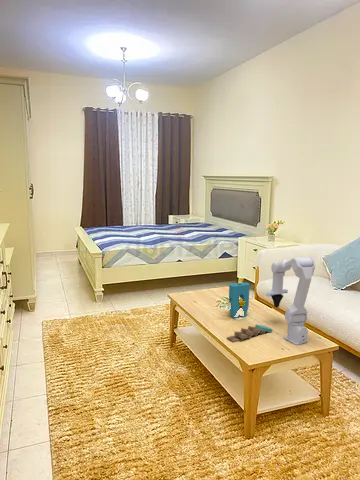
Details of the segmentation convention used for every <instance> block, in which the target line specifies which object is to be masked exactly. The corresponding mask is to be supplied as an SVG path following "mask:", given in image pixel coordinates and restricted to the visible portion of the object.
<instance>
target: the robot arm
mask: <svg viewBox="0 0 360 480" xmlns="http://www.w3.org/2000/svg"><path fill="white" fill-rule="evenodd" d="M270 268H271V269H270V270H271V272H272V285H271V287H272V288H271V290H269V291H267V292H266V293H265V295H266V297H269V298H270V297H271V299H272V303H273V306H274V308H279V307H280V304H281V302H282V300H283V298H284V294H288V292H289V290H288V289H286V288H285V289H284V277H285V273H286V272H287V271H290V270H291V269H292V270H293V273H294V274H295V277H297V278H299V279H298V283H297V287H296V290H295V295H294V299H293V302H292V303H293V304H292V305H290V306H289V307H287V310H286V311H285V313H284V320H285V321H286V323H287V335H286V336H283V339H284V340H287V341H288V342H290V343H293V344H294V345H297V346H299V345H302V344H305V343H309V341H308V328H307V327H306V326H305V323H306V322H307V320H308V310H307V308H306V307H305V305H306V304H305V303H306V301H307V297H308V293H309V289H310V287H311V286H310V285H311V282H312V279H313V278H312V277H313V275H314V272H315V268H316V263H315V260H314V258H313V257H310V256H309V257H292V258H291V259H286V258H284V259H282V260H279V261H278V262H272V263H271V266H270Z"/></svg>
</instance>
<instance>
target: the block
mask: <svg viewBox="0 0 360 480" xmlns="http://www.w3.org/2000/svg"><path fill="white" fill-rule="evenodd" d="M250 285H251V284H250V283H248V282H238V283H237V282H236V283H229V285H228V303H229V302H230V303H231V309H230V310H229V315H230V317H231V318H233V319H235V320H237V319H240V318H245V317H247V314H248V310H249V304H250V302H249V301H250ZM239 296H240V297H241V298H242V299H243V301H246V303H245V305H244V306H242V307H243V308H242V309H243V311H244V316H238V317H234V316H235V315H236V313H237V311H238V310H239V309H240V306H239Z"/></svg>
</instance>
